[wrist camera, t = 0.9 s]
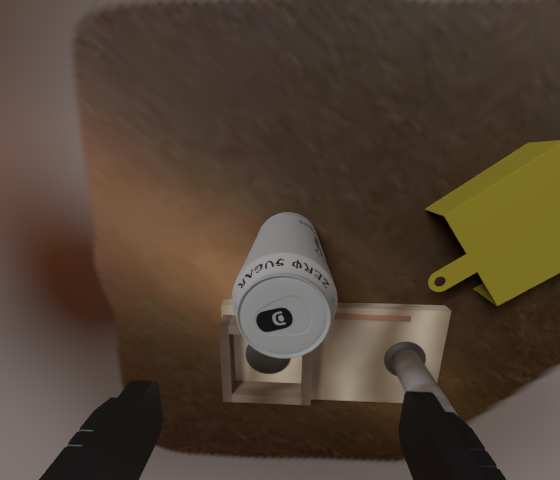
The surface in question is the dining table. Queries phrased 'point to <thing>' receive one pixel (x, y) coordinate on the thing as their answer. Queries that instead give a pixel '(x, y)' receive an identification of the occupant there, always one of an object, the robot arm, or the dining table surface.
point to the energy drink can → (285, 289)
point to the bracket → (506, 224)
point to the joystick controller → (343, 358)
